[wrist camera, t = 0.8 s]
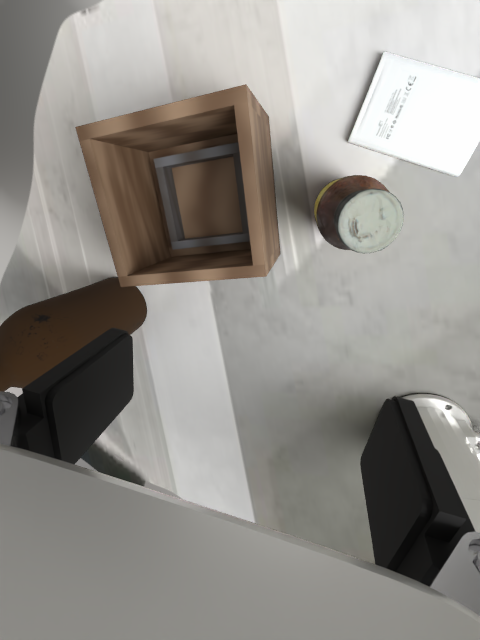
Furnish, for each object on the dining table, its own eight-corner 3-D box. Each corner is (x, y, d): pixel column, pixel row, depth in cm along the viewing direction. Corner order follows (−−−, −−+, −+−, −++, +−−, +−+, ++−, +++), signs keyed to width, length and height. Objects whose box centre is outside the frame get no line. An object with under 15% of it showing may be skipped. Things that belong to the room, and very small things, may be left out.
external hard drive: (453, 177, 34) (346, 143, 35) (502, 90, 30) (381, 55, 31) (459, 176, 32) (348, 140, 34) (511, 85, 29) (384, 49, 30)
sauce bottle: (308, 226, 39) (298, 256, 21) (323, 173, 36) (326, 157, 19) (359, 238, 38) (393, 281, 20) (378, 185, 35) (437, 180, 18)
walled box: (268, 116, 35) (246, 84, 25) (280, 254, 41) (266, 276, 30) (141, 144, 40) (75, 127, 29) (167, 264, 46) (120, 287, 35)
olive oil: (85, 275, 50) (-104, 343, 28) (142, 271, 47) (-18, 343, 25) (103, 333, 54) (-50, 435, 32) (157, 333, 51) (30, 444, 29)
